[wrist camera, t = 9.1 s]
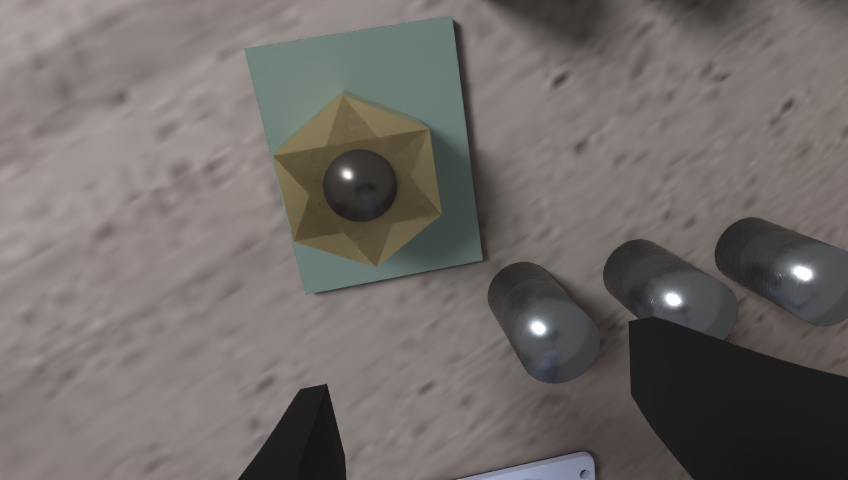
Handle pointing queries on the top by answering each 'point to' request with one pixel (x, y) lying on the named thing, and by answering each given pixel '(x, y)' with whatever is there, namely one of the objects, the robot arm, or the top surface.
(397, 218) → the brass nut
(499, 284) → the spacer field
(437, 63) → the green mat
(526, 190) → the top surface
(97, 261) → the top surface
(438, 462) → the top surface
